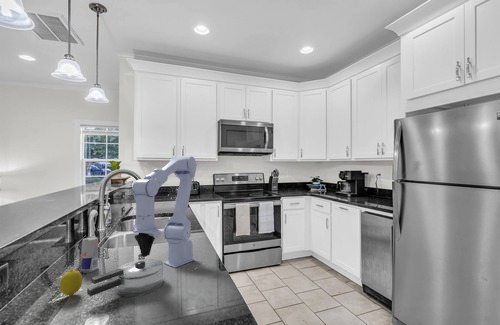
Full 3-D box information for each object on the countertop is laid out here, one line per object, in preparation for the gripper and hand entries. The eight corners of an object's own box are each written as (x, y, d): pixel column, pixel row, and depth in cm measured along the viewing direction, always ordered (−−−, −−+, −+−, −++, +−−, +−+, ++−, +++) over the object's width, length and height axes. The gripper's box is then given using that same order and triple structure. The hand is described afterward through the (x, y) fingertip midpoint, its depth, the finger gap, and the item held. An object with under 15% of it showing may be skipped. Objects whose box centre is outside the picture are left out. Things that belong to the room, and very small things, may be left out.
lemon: (86, 291, 76) (86, 265, 76) (74, 300, 71) (74, 273, 71) (68, 291, 76) (68, 266, 76) (54, 301, 70) (54, 273, 71)
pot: (148, 272, 89) (148, 258, 89) (171, 282, 81) (171, 268, 81) (79, 298, 72) (79, 281, 72) (99, 315, 63) (99, 296, 63)
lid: (148, 258, 89) (148, 253, 89) (171, 267, 81) (171, 260, 81) (83, 280, 73) (83, 273, 73) (103, 293, 64) (103, 285, 64)
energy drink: (79, 270, 92) (79, 238, 92) (95, 265, 96) (95, 235, 96) (83, 274, 89) (83, 241, 89) (100, 269, 92) (100, 238, 93)
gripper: (122, 214, 82) (123, 254, 81) (146, 219, 73) (146, 264, 73) (142, 211, 87) (142, 248, 87) (166, 215, 79) (166, 257, 79)
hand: (145, 255), depth 80 cm, fingers closed
